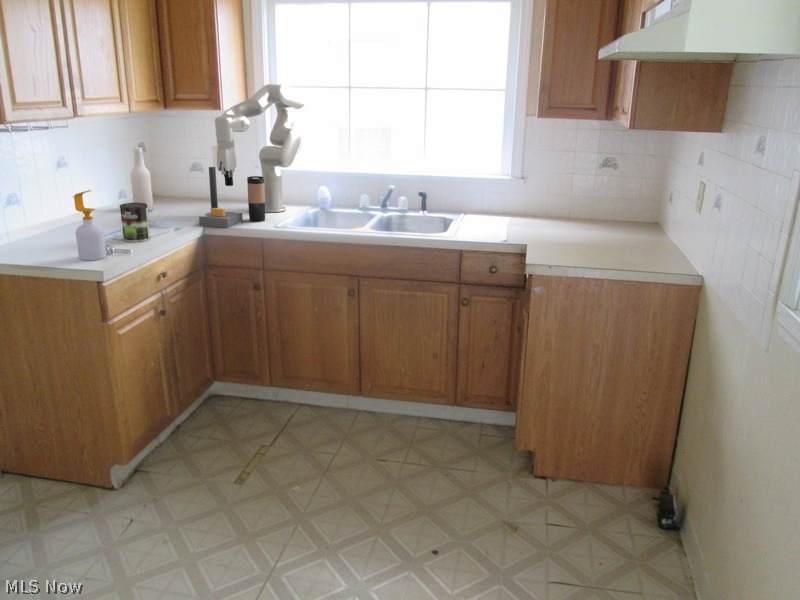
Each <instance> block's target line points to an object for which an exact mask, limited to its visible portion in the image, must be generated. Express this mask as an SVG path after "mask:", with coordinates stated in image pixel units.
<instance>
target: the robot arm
mask: <svg viewBox="0 0 800 600" xmlns="http://www.w3.org/2000/svg"><path fill="white" fill-rule="evenodd" d="M273 104H274V106H275V109H276V112H277V113H276V115H277V116H276V118H275V119H276V120H275V122H274V125H273V127H272V130H271V132H270V135H269V141H270V144H271V145H267V146H263V147H262V148H261V149H260V151H259V154H258V159H259V164H260V167H261V177H264V192H265V213H283V212H285V211H286V209H287V208H286V207H285V206H283V204H285V199H283V180H282V179H283V176H282V171H281V168H289V167H290V166H292V164H293V162H294V160H295V157H296V155H297V153H298V150H299V148H300V144H301V139H302V136H301V133H300V131H299V130H298V129H297V128H295V127H293V126H294V122H295V119H294V118H295V117H294V114H293V112H292V109H293V110H294V109H295V110H299V109H302V108H304V106H305V104H306V97H305V95H304V93H303V92H302V91H300V90H298V89H296V88H293V87H290V86H286V85H283V84H272V83H268V84H265V85H263V86H262V87H260V89H259V90H258V91H256V92H255V93H254V94H253V95H252V96H251V97H250V98H248V99H245V100H243V101H241V102H239V103H237V104H234V105H233V106H231V107H230V108H228V109H227V110H226V111H225V112H223V113H222V114H221V116H216V117H214V126H215V128H214V129H215V135H216V136H215V137H216V146H217V149H216V150H217V151H216V166H217V168H216V169H217V171H218V172H220V174H221V175H222V176H223V177H224V184H225V186H227V187H232V186H234V179H233V176H234V172H235V170H236V169H237V156H236V152H235V140H234V139H235V138H234V137H235V136H234V133H245V132H246V131H247V130H249V127H250V125H251V124H250V120H249V119H248V118H252V117H258V116H259V115H262V114H263V113H264V112H266V110H268V109H269V108H270V107H271V106H272V105H273ZM282 211H283V212H282Z"/></svg>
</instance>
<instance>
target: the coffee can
mask: <svg viewBox="0 0 800 600" xmlns="http://www.w3.org/2000/svg"><path fill="white" fill-rule="evenodd" d="M119 209H120V210H119V211H120V218H121V227H122V234H123V235H122V236H123V241H124V242H127V243H141V242H146V241H149V240H151V236H150V235H151V234H150V222H149V214H148V213H149V211H147V204H145V203H134V202H126V203H121V204H120V205H119Z"/></svg>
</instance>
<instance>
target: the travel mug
mask: <svg viewBox="0 0 800 600" xmlns="http://www.w3.org/2000/svg"><path fill="white" fill-rule="evenodd" d="M246 180H247V200H248V201H247V204H248V215H249V221H250V222H254V223H260V222H261V223H262V222H265V221H266V212H265V192H264V177H262V175H261V176H259V175H253V176H251V175H250V176H247V178H246Z"/></svg>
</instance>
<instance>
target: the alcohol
mask: <svg viewBox="0 0 800 600" xmlns="http://www.w3.org/2000/svg"><path fill="white" fill-rule="evenodd" d="M132 149H133V167H132V169H131V171H130V181H131V183H130V184H131V190H132V191H131V192H132V200H133V202H132V203H145V204H147V211H148V212H151V211H154V200H153V191H152V180H151V173H150V170H149V169H148V168H147V167H146V165H145V161H144V160H145V159H144V154H143V148H142V147H139V146H138V147H137V146H135V147H133V148H132Z"/></svg>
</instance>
